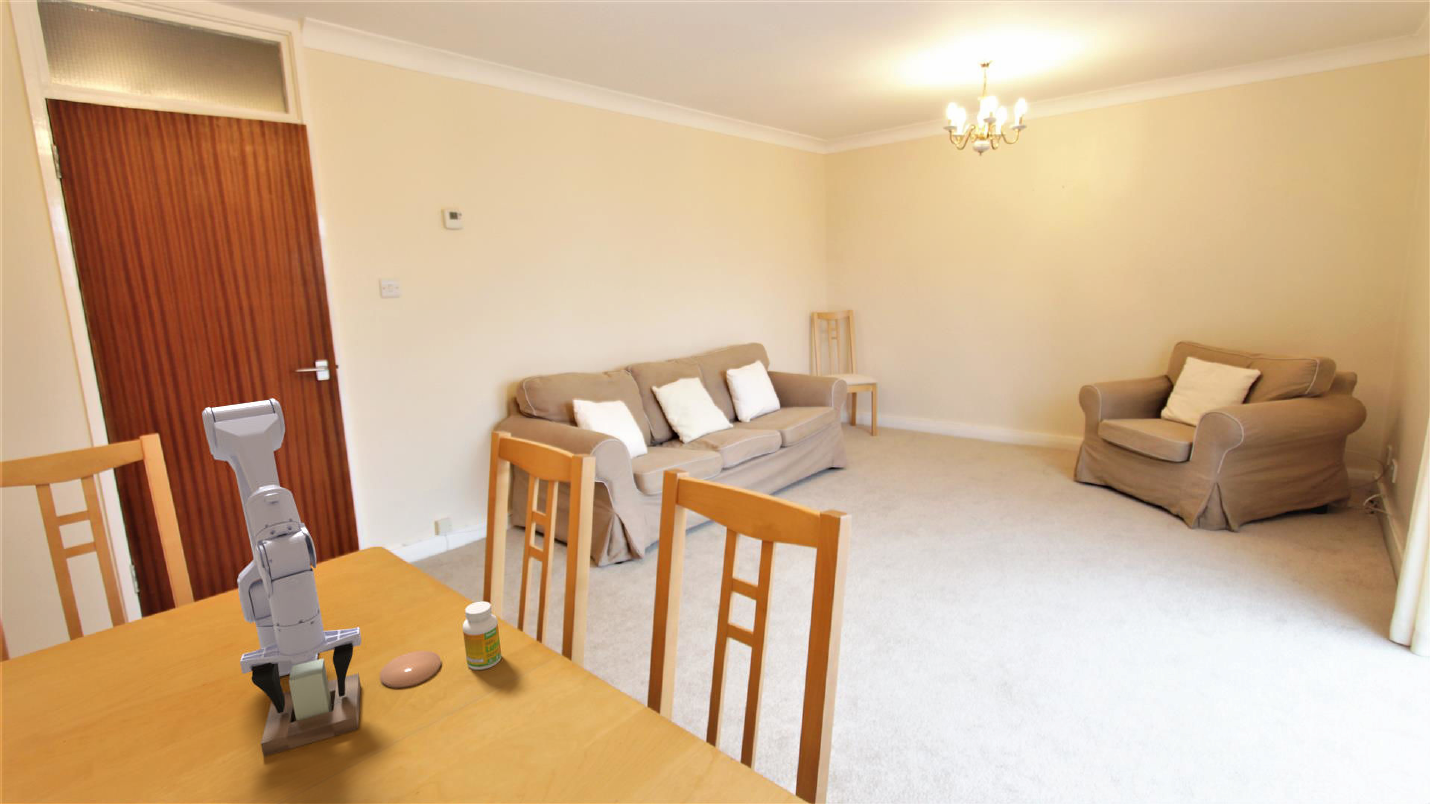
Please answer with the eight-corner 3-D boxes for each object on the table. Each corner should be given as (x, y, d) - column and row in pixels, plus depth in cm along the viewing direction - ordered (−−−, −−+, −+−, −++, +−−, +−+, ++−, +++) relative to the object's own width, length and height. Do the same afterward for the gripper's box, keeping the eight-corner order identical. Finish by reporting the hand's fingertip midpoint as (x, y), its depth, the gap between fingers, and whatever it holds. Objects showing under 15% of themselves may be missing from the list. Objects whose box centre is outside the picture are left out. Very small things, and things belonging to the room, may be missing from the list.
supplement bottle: (490, 672, 108) (484, 617, 106) (460, 669, 109) (453, 614, 107) (507, 653, 113) (501, 600, 111) (478, 650, 114) (472, 597, 112)
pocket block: (275, 707, 101) (273, 695, 101) (360, 684, 106) (358, 673, 106) (263, 756, 91) (260, 743, 91) (358, 729, 96) (356, 716, 95)
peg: (301, 714, 99) (292, 666, 98) (332, 706, 101) (323, 658, 99) (298, 731, 96) (288, 681, 94) (330, 722, 98) (321, 673, 96)
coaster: (380, 663, 111) (379, 660, 111) (438, 648, 115) (438, 645, 115) (380, 694, 103) (379, 691, 103) (443, 677, 107) (442, 674, 107)
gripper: (229, 643, 88) (248, 733, 91) (353, 615, 94) (367, 701, 97) (239, 618, 95) (256, 703, 98) (355, 593, 101) (368, 674, 104)
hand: (312, 700), depth 98 cm, fingers open, 7 cm apart
